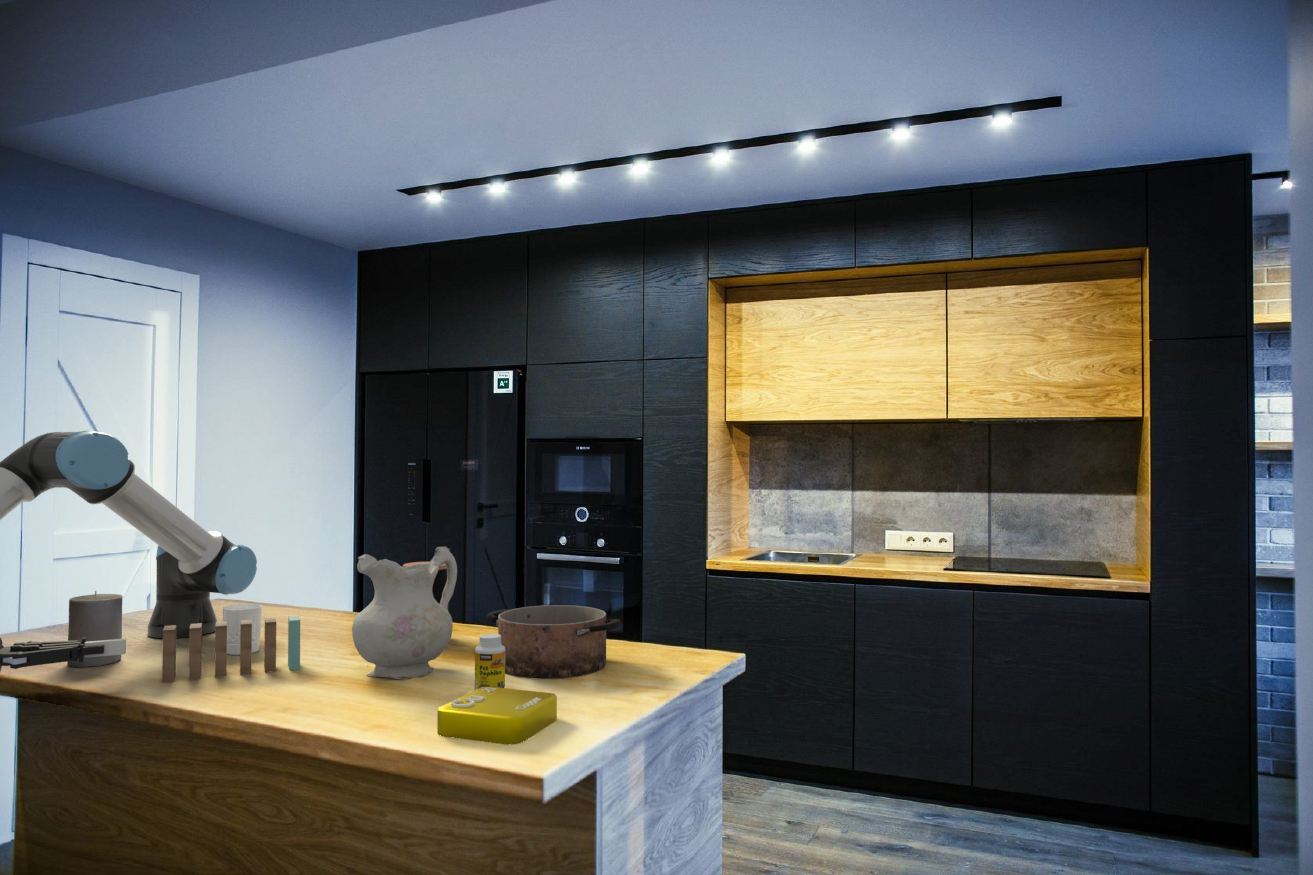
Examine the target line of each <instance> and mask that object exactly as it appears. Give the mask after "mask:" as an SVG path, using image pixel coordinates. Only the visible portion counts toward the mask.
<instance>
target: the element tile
mask: <svg viewBox="0 0 1313 875" xmlns="http://www.w3.org/2000/svg"><path fill="white" fill-rule="evenodd" d="M557 715H558V696H557V695H556V694H555V693H553V692H544V691H537V690H536V691H535V690H525V689H524V690H523V689H515V688H508V687H506V688H497V687H481V688H479V689H476V690H475V689H474V690H472V691H471V692H467V693H466V694H464V695H462V696H460V697H457V698H456V699H454V700H452V701H451V700H450V702H447V703H445V704H443V705H441V706H439V707H438V708H437V727H436V728H437V730H436V731H437V735H438V736H440V735H441V736H440V737H443V736H444V737H443V738H451V737H454V738H453V739H459V738H460V739H459V740H461V739H462V740H468V741H476V742H482V741H483V742H484V743H490V742H491V744H498V743H499V744H500V745H509V744H510V745H518V743H519V744H521V742H522V743H524V742H525V741H527V740H529V739H531V738H532V737H533V736H535V735H537V734H538V733H539V732H541V731H542V730H544V729H546V728H547V727H549V726H550V725H552V724H553V723H555V722H557V720H558V716H557ZM528 738H529V739H528ZM523 741H524V742H523Z"/></svg>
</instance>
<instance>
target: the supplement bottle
mask: <svg viewBox="0 0 1313 875" xmlns="http://www.w3.org/2000/svg"><path fill="white" fill-rule="evenodd" d="M478 643H479V644H478V645H477V646H476V647H475V649H474V690H476V689H479V688H481V687H497V688H505V687H506V673H505V647H504V646H503V645H501V635H499V634H498V633H487V634H486V633H484V634H481V635H479V641H478Z"/></svg>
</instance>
